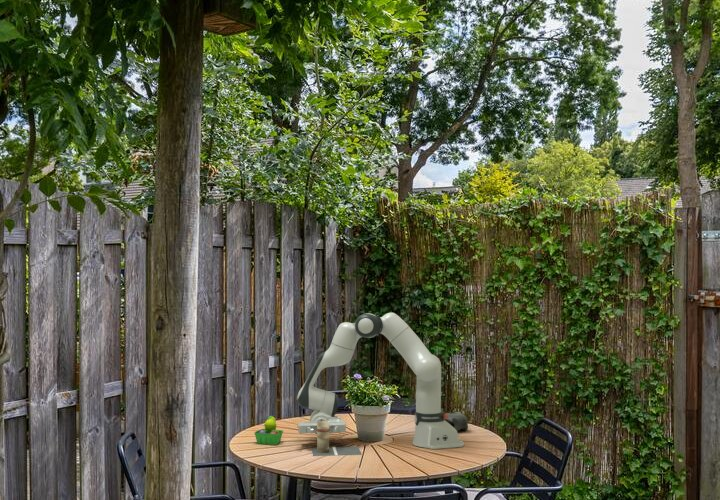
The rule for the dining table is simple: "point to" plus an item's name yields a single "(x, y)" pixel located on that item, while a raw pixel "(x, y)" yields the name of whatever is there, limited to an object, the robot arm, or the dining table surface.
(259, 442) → the fruit basket
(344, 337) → the robot arm
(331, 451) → the lane mat
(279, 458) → the dining table surface
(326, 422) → the skittle
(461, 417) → the rock
